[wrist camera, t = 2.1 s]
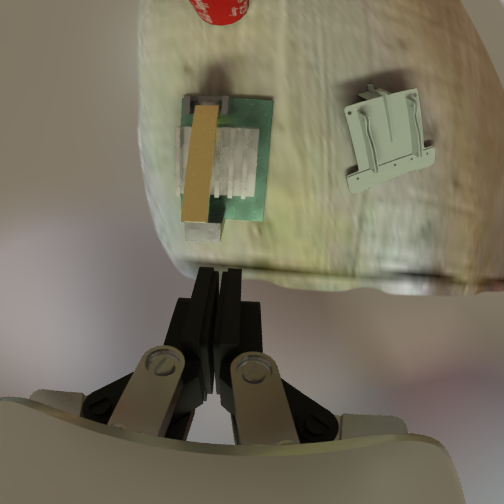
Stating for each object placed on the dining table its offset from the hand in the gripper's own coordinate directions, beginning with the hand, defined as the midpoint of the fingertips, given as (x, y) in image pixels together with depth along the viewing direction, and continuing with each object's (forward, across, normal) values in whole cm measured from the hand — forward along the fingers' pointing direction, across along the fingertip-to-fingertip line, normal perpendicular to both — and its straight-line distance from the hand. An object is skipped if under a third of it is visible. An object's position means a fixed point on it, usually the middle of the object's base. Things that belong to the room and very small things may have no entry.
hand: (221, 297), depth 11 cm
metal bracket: (+26, -19, -7) cm, 33 cm away
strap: (+18, +4, -3) cm, 18 cm away
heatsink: (+26, +2, -1) cm, 26 cm away
